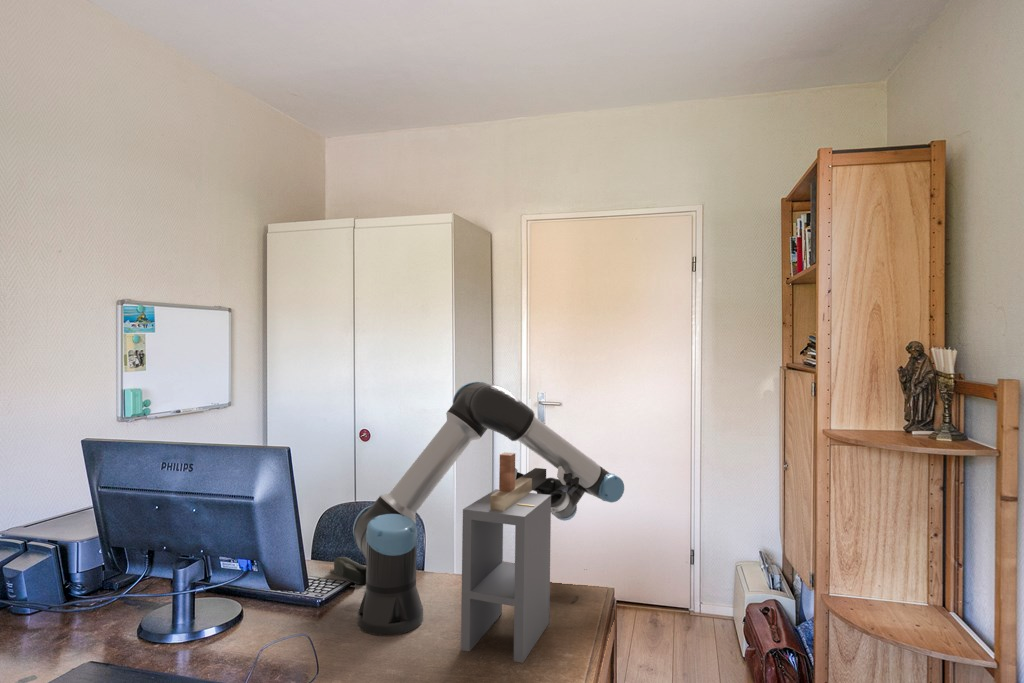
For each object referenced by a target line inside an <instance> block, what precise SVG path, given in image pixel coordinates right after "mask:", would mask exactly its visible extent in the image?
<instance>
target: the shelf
mask: <svg viewBox="0 0 1024 683" xmlns="http://www.w3.org/2000/svg"><path fill="white" fill-rule="evenodd" d="M497 491H499V488H498V489H494V490H492V491H491V492H489V493H487V494H486V495H484V496H482V497H481V498H479V499H477V500H475V501H474V502H472V503H471V504H469V505H468V506H465V507H464V508H462V534H461V535H462V536H461V537H462V541H461V542H462V545H461V546H462V547H461V610H460V612H461V615H460V619H461V620H460V623H461V624H460V651H464V652H468V651H469V652H471V651H472V649H473V648H474V647H475V646H476V645H477V643H479V641H481V639H482V638H483V637H482V636H484V635H485V634H486V633H487V632H488V631H489V630H490V628H491V627H492V626H494V624H495V623H494V622H496V621H497V620H498V619H499V618H500V617H501V616H502V614H503V605H504V606H510V607H513V608H514V609H513V612H514V613H513V616H514V617H513V619H514V620H513V662H516V663H522V664H524V662H525V660H526V659H527V657H528V656H529V654H530V653H531V652H532V649H533V648H534V647H535V645H536V644H537V642H538V640H539V639H540V638H541V636H542V635H543V633H544V631H545V630H547V627H548V625H549V624H550V610H551V608H550V607H551V606H550V604H551V603H550V598H551V597H550V596H551V595H550V594H551V536H552V535H551V534H552V532H551V528H552V527H551V524H552V523H551V522H552V520H551V519H552V513H551V495H546V494H537V492H535V493H534V492H529V493H528V494H527V495H525V496H524V497H522V498H521V499H520V500H518V501H517V502H516V503H514V504H513V505H511V506H510V507H509V508H507V509H506V510H504V511H498V510H490V504H491V495H492V494H494V493H496V492H497ZM504 525H510V526H515V528H514V529H515V532H514V533H515V535H514V536H515V537H514V540H515V541H514V542H515V543H514V547H515V548H514V562H512V561H510V562H509V561H504V560H503V555H504V554H503V551H504ZM500 615H501V616H500ZM499 616H500V617H499Z"/></svg>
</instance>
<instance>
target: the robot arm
mask: <svg viewBox="0 0 1024 683" xmlns="http://www.w3.org/2000/svg"><path fill="white" fill-rule="evenodd" d="M445 414H446V415H445V416H446V421H445V423H444V424H443V425H442V426H441V427H440V429H439V430H438V431H437V433H436V434H435V436H433V438H432V439H431V440H430V442H429V443H428V444H427V445H426V447H425V448H424V449H423V451H422V452H421V453H420V454H419V455H418V456H417V458H416V459H415V460H414V461H413V463H412V464H411V466H410V467H409V468H408V469H407V470H406V472H405V473H404V474H403V475H402V476H401V478H400V479H399V480H398V482H397V483H396V484H395V485H394V487H393V488H392V489H391V491H390V492H388V493H384V494H380V495H379V496H378V498H377V499H376V500H375V502H374V503H373V504H371V505H369V506H367V507H364V508H363V509H362V510H360V512H359V513H358V514H357V516H356V518H355V519H354V522H353V526H352V527H353V528H352V533H353V540H354V542H355V543H354V544H355V545H356V546H357V548H358V550H359V551H360V552H361V554H362V555H363V557H364V559H365V563H366V564H365V565H366V566H365V567H366V584H365V590H364V594H363V597H362V600H361V602H360V605H359V609H358V612H357V627H358V628H359V629H360V630H361V631H362V632H364V633H366V634H370V635H374V636H381V637H382V636H383V637H384V636H385V637H386V636H387V637H388V636H396V635H401V634H404V633H405V634H406V633H407V632H411V631H413V630H415V629H416V628H418V627H419V626H420V625H421V624H422V622H424V606H423V604H422V601H421V598H420V594H419V591H418V587H417V565H418V564H417V561H418V560H417V556H418V553H417V551H418V539H419V537H418V536H419V535H418V532H417V531H418V529H417V524H416V522H417V521H416V514H417V512H418V510H419V509H420V508H421V507H422V505H423V504H424V503H425V502H426V500H427V499H428V497H430V495H431V494H432V492H433V491H434V490H435V488H436V487H437V486H438V485H439V483H440V482H441V481H442V479H443V478H444V477H445V475H447V473H448V471H449V470H450V469H451V467H452V466H453V465H455V462H456V461H457V460H458V459H459V457H460V456H461V455H462V453H463V452H464V451H465V450H466V449H467V447H468V446H469V444H470V443H471V442H472V441H474V440H480V439H481V438H482V437H483V435H485V433H486V432H487V430H491V431H493V432H496V433H499V434H500V435H502V436H504V437H506V438H507V439H509V440H510V441H511V442H516V441H518V442H519V443H521V444H523V446H525V447H527V448H528V449H529V450H530V451H533V453H535V454H536V455H537V456H539V457H540V458H542V459H543V460H545V461H546V462H547V463H549V464H550V465H552V466H553V467H554V468H555V469H557V472H556V473H557V474H556V475H557V476H556V477H557V478H556V477H546V481H545V482H543V483H542V484H541V485H539V486H538V487H536V488H535V489H534V490H532V491H534V492H535V493H536V494H546V495H551V516H554V517H555V518H557V519H558V520H560V521H564V522H565V521H569V520H572V519H573V518H574V517H575V516H576V514H577V511H578V507H577V506H578V504H579V502H580V500H581V499H582V497H583V496H584V495H585V493H586V494H588V495H591V496H593V497H595V498H597V499H600V500H602V501H603V502H607V503H616V502H618V501H620V499H621V498H622V497H623V494H624V492H625V485H624V481H623V480H622V478H621V477H619V476H618V475H616V474H615V473H610V472H609V471H608V470H606V469H605V468H603V467H602V466H600V464H598V463H597V462H596V461H595V460H593V459H592V458H590V457H589V456H587V455H586V454H585V453H584V452H582V451H581V450H580V449H579V448H577V447H576V446H574V445H573V444H572V443H570V442H569V441H567V439H566V438H563V437H562V436H561V435H559V434H558V433H557V432H556V431H555V430H554V429H551V428H550V427H549V426H548V425H547V424H545V423H544V422H542V421H541V420H540V419H539V418H537V417H536V416H535V411H534V410H533V409H532V408H530V407H529V406H527V405H526V403H524V402H523V400H522V401H521V400H520V399H519V398H518V397H517V396H515V394H513V393H512V392H510V391H509V390H508V389H506V388H505V387H503V386H501V385H498V384H497V385H496V384H491V383H487V382H485V381H484V382H483V381H472V382H467V383H465V384H464V385H462V386H460V387H459V389H458V390H457V391H456V392H455V394H454V396H453V400H452V405H451V406H450V408H449V409H448V410H447V412H446V413H445ZM523 475H525V474H524V473H523V472H522V473H521V472H518V469H517V468H516V467H515V480H517V479H518V478H520V477H522V476H523Z"/></svg>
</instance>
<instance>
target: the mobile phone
mask: <svg viewBox="0 0 1024 683" xmlns="http://www.w3.org/2000/svg"><path fill="white" fill-rule="evenodd" d="M329 572H331V573H333V574H335V575H337V576H340V577H341V578H343V579H346V580H347V581H349V582H351V583H354V584H355V585H358V586H366V566H365V565H362V564H361V563H358V562H357V561H354V560H352V559H351V558H349V557H347V556H338V557H336V558H334V560H333V569H330V570H329Z"/></svg>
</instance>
